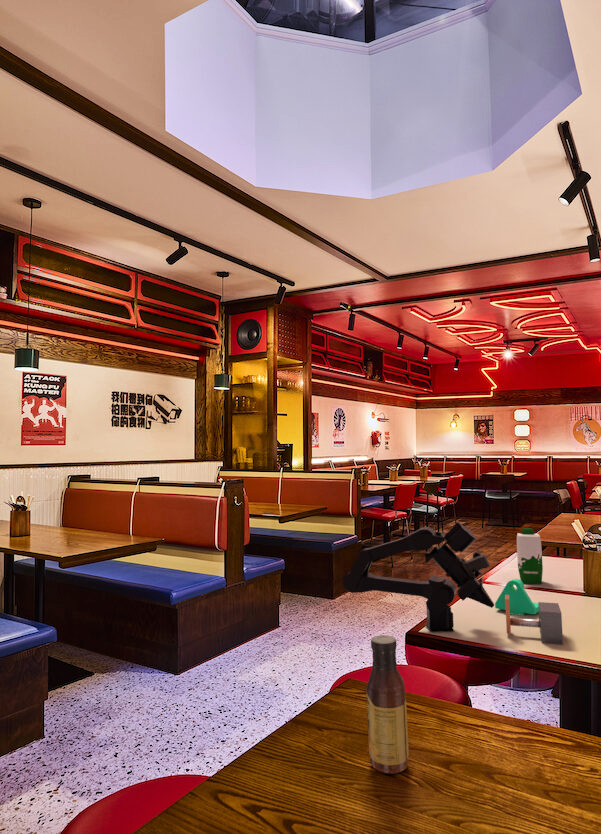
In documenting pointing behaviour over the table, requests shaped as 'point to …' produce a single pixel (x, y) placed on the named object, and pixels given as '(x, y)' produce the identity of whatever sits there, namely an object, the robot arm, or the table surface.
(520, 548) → the milk carton
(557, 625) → the block
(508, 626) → the lock pin
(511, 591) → the camera mount
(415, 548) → the robot arm
